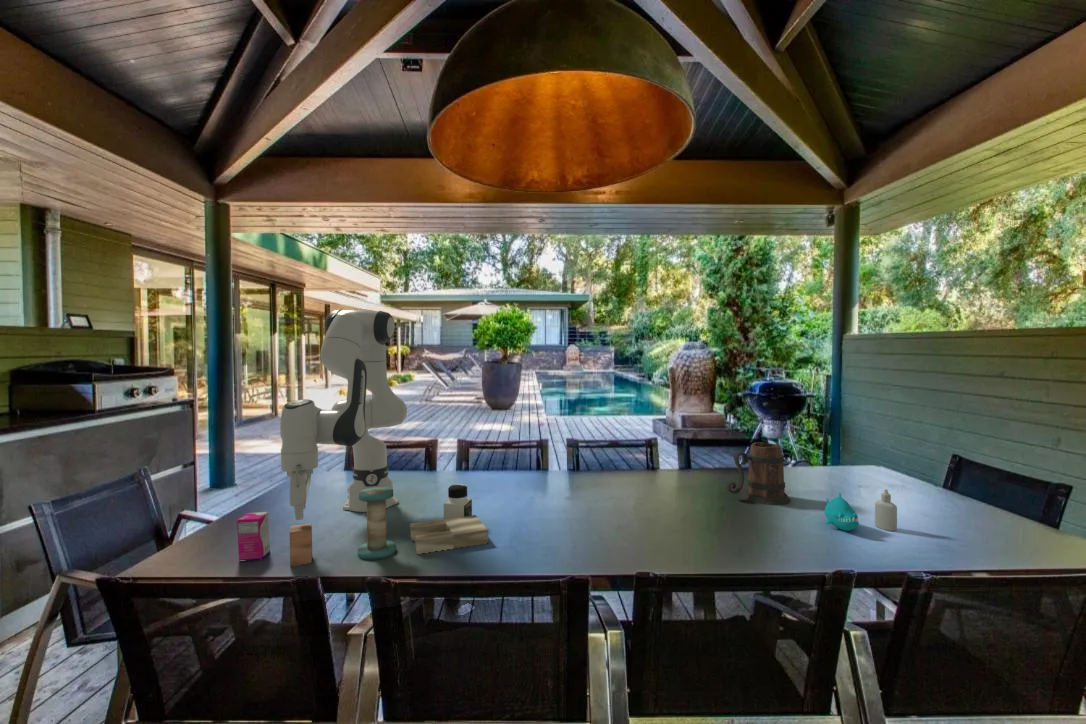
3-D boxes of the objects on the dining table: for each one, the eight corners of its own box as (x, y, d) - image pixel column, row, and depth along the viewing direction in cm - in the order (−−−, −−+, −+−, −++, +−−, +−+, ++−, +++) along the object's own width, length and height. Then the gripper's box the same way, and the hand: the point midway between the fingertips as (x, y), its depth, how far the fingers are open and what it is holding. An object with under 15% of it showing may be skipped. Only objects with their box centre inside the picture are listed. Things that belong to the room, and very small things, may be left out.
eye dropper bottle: (886, 525, 156) (887, 487, 156) (899, 531, 151) (899, 492, 150) (872, 525, 156) (873, 487, 156) (884, 531, 151) (884, 492, 150)
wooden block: (291, 559, 134) (291, 525, 134) (312, 556, 136) (311, 523, 136) (290, 566, 129) (289, 532, 129) (311, 563, 131) (310, 529, 131)
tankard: (773, 490, 195) (774, 440, 194) (801, 504, 178) (801, 448, 178) (716, 493, 192) (716, 441, 192) (739, 507, 175) (739, 450, 175)
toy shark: (836, 536, 147) (836, 500, 147) (810, 516, 165) (811, 484, 165) (871, 537, 146) (872, 501, 146) (842, 517, 164) (842, 484, 164)
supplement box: (248, 553, 138) (247, 512, 138) (270, 552, 139) (269, 511, 138) (237, 562, 132) (236, 519, 132) (260, 561, 133) (259, 518, 132)
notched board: (410, 537, 149) (410, 523, 149) (475, 527, 157) (475, 514, 157) (417, 554, 136) (417, 540, 136) (488, 543, 144) (487, 529, 144)
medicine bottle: (464, 526, 157) (464, 489, 157) (443, 525, 159) (442, 488, 159) (472, 519, 164) (471, 483, 164) (451, 518, 166) (451, 482, 166)
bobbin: (357, 548, 141) (356, 488, 140) (394, 543, 144) (393, 484, 144) (358, 562, 131) (357, 498, 131) (397, 556, 135) (396, 494, 135)
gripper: (311, 468, 123) (312, 524, 123) (314, 454, 142) (315, 502, 142) (282, 470, 121) (283, 527, 121) (289, 456, 140) (290, 505, 140)
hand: (300, 513), depth 132 cm, fingers open, 8 cm apart
